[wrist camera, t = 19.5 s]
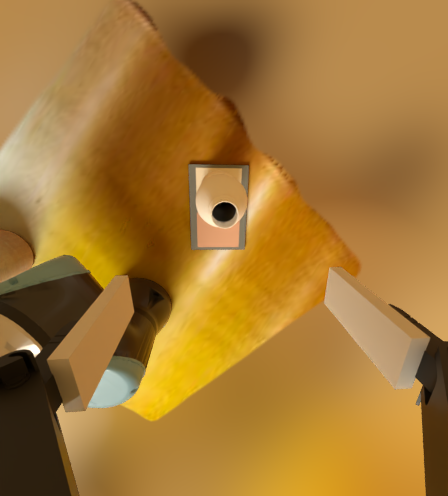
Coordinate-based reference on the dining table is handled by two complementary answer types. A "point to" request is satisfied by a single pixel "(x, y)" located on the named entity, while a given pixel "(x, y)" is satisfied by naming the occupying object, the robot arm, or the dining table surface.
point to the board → (205, 233)
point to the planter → (13, 255)
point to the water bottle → (221, 199)
